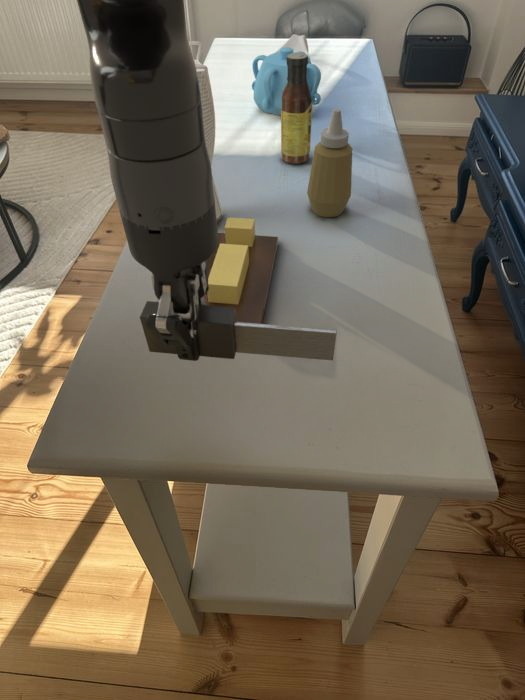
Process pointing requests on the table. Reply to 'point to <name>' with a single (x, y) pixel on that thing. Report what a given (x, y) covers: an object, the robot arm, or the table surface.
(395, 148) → the table surface
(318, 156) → the squeeze bottle
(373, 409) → the table surface
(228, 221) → the butter slice
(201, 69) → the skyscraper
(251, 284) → the board
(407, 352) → the table surface
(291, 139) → the sauce bottle
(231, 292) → the butter
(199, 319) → the knife
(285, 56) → the decorative pot
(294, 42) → the spoon rest
